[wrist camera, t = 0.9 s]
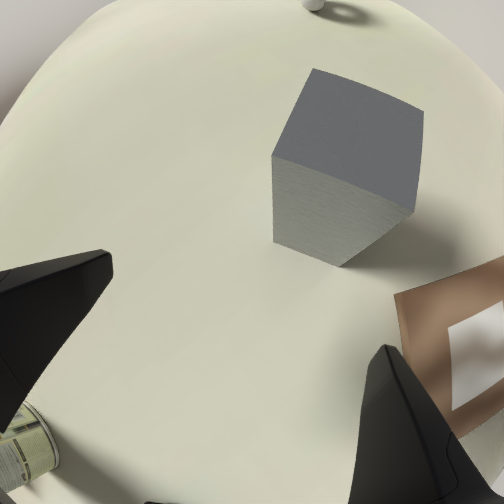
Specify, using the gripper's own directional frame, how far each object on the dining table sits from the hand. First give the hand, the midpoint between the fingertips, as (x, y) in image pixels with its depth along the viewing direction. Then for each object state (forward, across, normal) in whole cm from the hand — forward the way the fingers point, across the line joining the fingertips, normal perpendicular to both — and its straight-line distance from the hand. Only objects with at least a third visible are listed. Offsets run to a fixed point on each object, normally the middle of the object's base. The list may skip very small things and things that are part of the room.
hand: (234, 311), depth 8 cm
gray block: (+15, -2, +2) cm, 15 cm away
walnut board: (+11, -21, +7) cm, 25 cm away
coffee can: (-6, +21, +29) cm, 36 cm away
